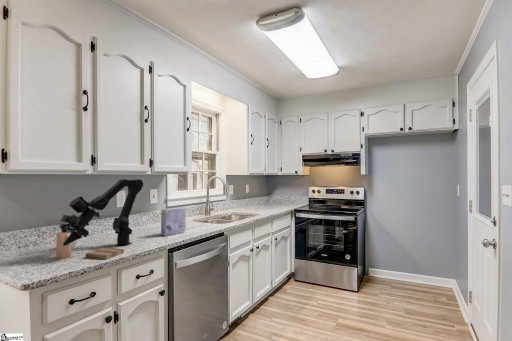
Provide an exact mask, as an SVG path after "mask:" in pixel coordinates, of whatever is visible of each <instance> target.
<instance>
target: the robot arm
mask: <svg viewBox="0 0 512 341" xmlns="http://www.w3.org/2000/svg"><path fill="white" fill-rule="evenodd" d="M126 187H127V195H126V198H125V201H124V204H123V206H122V209H121V212H120V214H119V216H118V217H114V219H113V222H112V224H111V225H112V230H113V231H114V233H115V234H117V238H116V243H115V244H114V246H121V247H126V246H128V245H131V244H132V242H130V235H132V234H133V230H132V228H130V218H129V217H130V215H131V211H132V209H133V206H134V203H135V201H136V198H137V195H138V194H139V193H140V192H141V191H142V189H143V187H144V182H143V180H142V179H139V178H138V179H135V178H133V179H125V178H124V179H123V178H121V179H118V181H117V182H116V183H115V184H114V185H112V186H111V187H110V188H108V190H106V191H105V192H104V193H103V194H101V195H98V196H97V197H95V198H94V199H92V200H91V201H88V202H87V201H86V199H85V198H84V197H83V196H80V195H79V196H78V197H77V198H74V199H73V200H71V201H70V202H69V204H68V207H69V208H71V209H72V210H73V211H75V213H77V214H80V215H79V216H77V215H75V214H71V215H67V214H63V216H62V217H61V219H60V221H61V222H62V223H61V224H60V225H59V226H58V227H59V228H60V230H61V232H71V234H70V235H69V237H68V238H67V239H66V241H65V242H64V244H63V245H64V246H65V245H67V244H69V243H71V242H73V241H75V240H78V239H79V240H80V239H82V238H87V237H89V235H90V232H89V230H88V229H86V227H87V226H90V222H91V221H92V220H93V219H94V217H95V218H100V217H101V216H100V212H99V211H103V210H104V209H105V208H106V207H107V206H108V205H109V202H110V200H111V199H113V198H114V197H115V196H116V195H117V194H119V192H120V191H121V190H123V189H124V188H126Z"/></svg>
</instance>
